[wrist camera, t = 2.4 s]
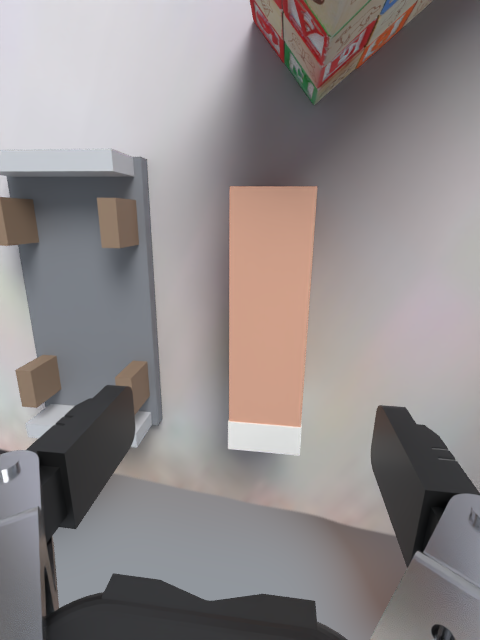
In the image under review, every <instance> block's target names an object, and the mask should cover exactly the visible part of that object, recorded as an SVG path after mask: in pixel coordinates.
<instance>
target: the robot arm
mask: <svg viewBox="0 0 480 640" xmlns="http://www.w3.org/2000/svg"><path fill="white" fill-rule="evenodd" d="M134 437H135V415H134V403H133V392H132V389H131V387H129V386H117V385H106V386H105V387H104V388H103V389H102V390H101V391H100V392H99V393H98V394H96V395H95V396H94V397H93V398H89V399H87V400H85V401H83V402H81V403H79V404H77V405H75V406H74V407H73V408H72V409H71V410H70V411H69V412H67V413H66V414H65V416H64V417H62V418H61V419H60V420H59V421H58V422H56V425H53V426H52V427H51V428H50V429H49V430H48V431H46V432H45V433H44V434H43V435H42V436H41V437H40V438H39V439H38V440H36V441H35V442H34V443H33V444H32V445H31V446H30V447H29V448H28V449H27V450H17V451H11V452H7V453H4V454H1V455H0V640H347V639H346V638H345V637H343V636H342V635H340V634H339V633H338V632H336V631H334V630H332V629H331V628H329V627H327V626H325V625H323V624H321V623H319V622H317V619H316V606H315V601H311V600H304V599H297V598H289V597H282V596H275V595H266V594H259V595H252V596H245V597H237V598H230V599H223V600H215V601H207V600H204V599H201V598H199V597H197V596H195V595H192V594H190V593H188V592H186V591H183V590H181V589H179V588H177V587H175V586H172V585H170V584H168V583H166V582H163V581H162V580H157V579H149V578H142V577H135V576H127V575H120V574H113V575H112V577H111V579H110V581H109V583H108V585H107V588H106V589H105V591H104V592H103V593H97V594H94V595H90V596H86V597H84V598H81V599H78V600H76V601H73V602H71V603H69V604H67V605H65V606H63V607H61V608H59V602H58V590H57V577H56V565H55V552H54V542H53V537H52V535H53V534H54V533H55V531H56V530H57V529H58V527H64V528H72V529H76V528H77V527H78V525H79V524H80V522H81V521H82V519H83V518H84V516H85V515H86V513H87V512H88V510H89V509H90V507H91V506H92V504H93V503H94V501H95V500H96V498H97V497H98V495H99V494H100V492H101V491H102V489H103V488H104V486H105V485H106V483H107V482H108V480H109V479H110V477H111V476H112V474H113V473H114V471H115V470H116V468H117V467H118V465H119V464H120V462H121V461H122V459H123V458H124V456H125V455H126V453H127V452H128V450H129V449H130V447H131V445H132V443H133V440H134ZM371 464H372V469H373V472H374V475H375V477H376V480H377V483H378V486H379V489H380V492H381V494H382V497H383V500H384V503H385V506H386V509H387V511H388V514H389V517H390V520H391V523H392V526H393V528H394V531H395V534H396V537H397V540H398V543H399V545H400V548H401V551H402V554H403V557H404V559H405V562H406V565H407V570H406V572H405V574H404V576H403V578H402V579H401V581H400V583H399V585H398V587H397V589H396V591H395V593H394V595H393V596H392V598H391V600H390V602H389V604H388V606H387V608H386V610H385V612H384V614H383V615H382V617H381V619H380V621H379V623H378V625H377V627H376V629H375V631H374V632H373V634H372V637H371V638H370V640H480V493H479V492H478V490H477V489H476V487H475V486H474V485H473V483H472V482H471V480H470V479H469V478H468V476H467V475H466V473H465V472H464V471H463V469H462V468H461V466H460V465H459V464H458V462H457V461H455V458H454V456H453V455H452V454H451V452H450V451H448V448H447V447H446V445H445V444H444V442H443V441H442V440H441V438H440V437H439V436H438V435H437V434H436V433H434V432H433V431H432V430H430V429H429V428H428V427H426V426H425V425H418V424H416V423H415V421H414V420H413V418H412V416H411V415H410V413H409V412H408V410H407V409H406V408H405V407H396V406H382V405H380V406H378V408H377V411H376V418H375V425H374V432H373V438H372V445H371Z"/></svg>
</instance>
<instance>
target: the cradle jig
mask: <svg viewBox="0 0 480 640" xmlns="http://www.w3.org/2000/svg"><path fill="white" fill-rule="evenodd" d="M0 175H4V176H7V181H8V187H9V193H10V198H5V197H0V245H4V246H9V245H18V247H19V253H20V259H21V265H22V270H23V276H24V282H25V288H26V294H27V300H28V306H29V312H30V318H31V324H32V330H33V336H34V342H35V348H36V354H37V358H36V359H34V360H33V361H31V362H29V363H27V364H26V365H24V366H22V367H20V368H19V369H17V370H16V376H17V381H18V386H19V392H20V397H21V402H22V406H23V407H34V408H37V407H38V406H40V405H41V404H42V403H44V402H45V407H46V408H45V409H44V410H42V411H41V412H40V413H39V414H37V415H36V416H35V417H33V418H32V419H31V420H30V421H28V422H27V423H26V429H27V434H28V437H32V438H40V437H41V436H42V435H43V434H44V433H45V432H46V431H48V430H49V429H50V428H51V427H52V426H53V425H56V422H58V421H59V420H60V419H61V418H62V417H64V416H65V414H66V413H67V412H69V411H70V410H71V409H72V408H73V407H74V406H75V405H77V404H79V403H81V402H83V401H85V400H87V399H89V398H93V397H94V396H95V395H96V394H98V393H99V392H100V391H101V390H102V389H103V388H104V387H105V386H106V385H117V386H129V387H131V389H132V392H133V403H134V415H135V437H134V440H133V443H132V445H131V447H136V448H137V447H138V445H139V444H140V442H141V441H142V439H143V438H144V436H145V435H146V433H147V432H148V430H149V428H150V427H151V425H159V423H160V422H161V420H162V405H161V388H160V372H159V355H158V338H157V322H156V305H155V289H154V272H153V256H152V239H151V222H150V206H149V189H148V173H147V159H144V158H142V157H131V156H129V155H126V154H124V153H121V152H119V151H116V150H113V149H48V150H0Z"/></svg>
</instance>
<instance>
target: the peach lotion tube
mask: <svg viewBox="0 0 480 640" xmlns="http://www.w3.org/2000/svg"><path fill="white" fill-rule="evenodd" d="M316 199H317V186H230V208H229V420H228V449H234V450H245V451H256V452H266V453H277V454H288V455H298V456H300V443H301V429H302V428H301V415H302V401H303V386H304V372H305V357H306V343H307V329H308V314H309V300H310V286H311V271H312V257H313V242H314V228H315V214H316Z"/></svg>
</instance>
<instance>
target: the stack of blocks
mask: <svg viewBox="0 0 480 640" xmlns="http://www.w3.org/2000/svg"><path fill="white" fill-rule="evenodd" d="M432 1H433V0H250V5H251V9H252V15H253V20H254V22H255V24H256V25H257V26H258V28H259V29H260V31H261V32H262V34H263V35H264V36H265V38H266V39H267V41H268V42H269V43H270V45H271V46H272V48H273V49H274V50H275V52H276V53H277V55H278V56H279V57H280V59H281V60H282V62H283V63H285V65H286V66H287V67H288V69H289V70H290V72H291V73H292V75H293V76H294V77H295V79H296V80H297V82H298V83H299V85H300V86H301V88H302V89H303V91H304V92H305V93H306V95H307V96H308V98H309V99H310V101H311V102H312V104H313V105H315V104H317V103H318V102H319V101H320V100H321V99H322V98H323V97H324V96H325V95H327V94H328V93H329V92H330V91H331V90H332V89H333V88H334V87H335V86H337V85H338V84H339V83H340V82H341V81H342V80H343V79H344V78H345V77H347V76H348V75H349V74H350V73H351V72H352V71H353V70H354V69H357V68H359V67H360V66H361V65H362V64H363V63H364V62H365V61H366V60H368V59H369V58H370V57H371V56H372V55H373V54H374V53H375V52H376V51H378V50H379V49H380V48H381V47H382V46H383V45H384V44H385V43H386V42H387V41H389V40H390V39H391V38H392V37H393V36H394V35H395V34H396V33H398V32H399V31H400V29H402V28H403V27H404V26H405V25H406V24H408V23H409V22H410V21H411V20H412V19H413V18H415V17H416V16H417V15H418V14H419V13H420V12H421V11H422V10H423V9H425V8H426V7H427V6H428V5H429V4H430V3H431V2H432Z"/></svg>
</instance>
